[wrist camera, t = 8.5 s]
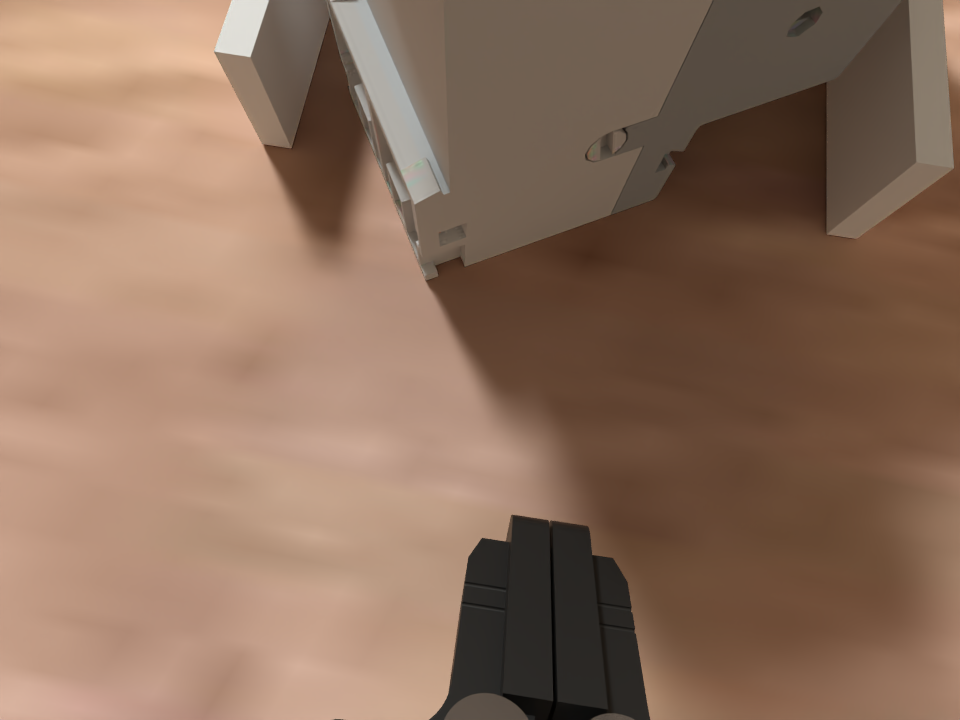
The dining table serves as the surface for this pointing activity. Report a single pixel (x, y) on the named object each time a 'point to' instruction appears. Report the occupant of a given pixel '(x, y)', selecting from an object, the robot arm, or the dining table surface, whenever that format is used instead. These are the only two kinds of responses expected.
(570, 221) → the circuit breaker
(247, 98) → the panel bay
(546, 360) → the dining table surface
